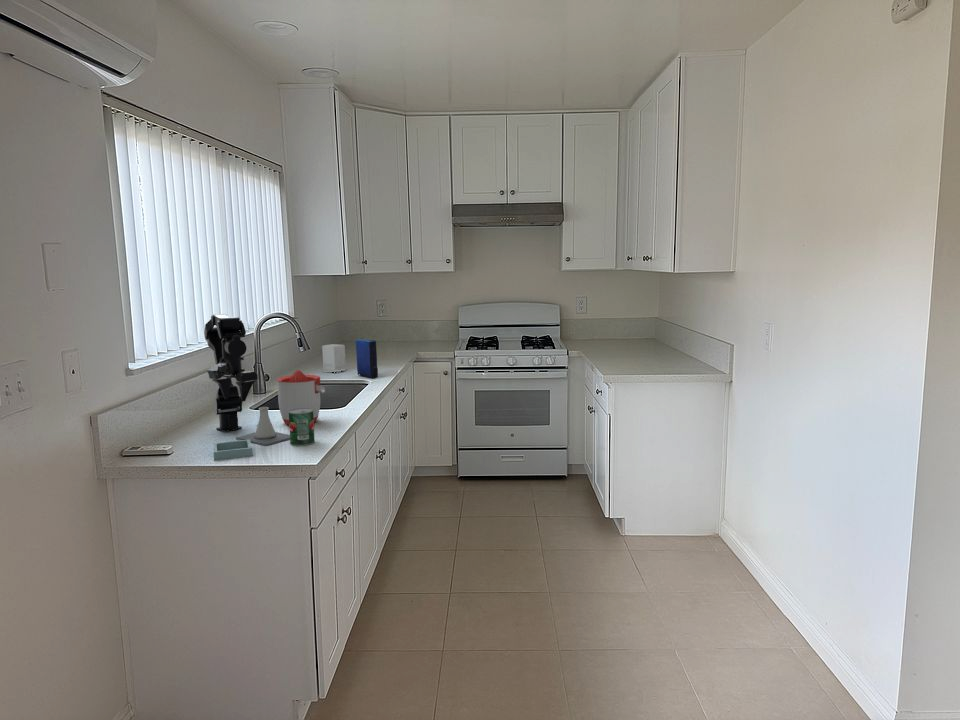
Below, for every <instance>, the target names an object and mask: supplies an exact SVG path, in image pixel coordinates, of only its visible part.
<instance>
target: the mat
mask: <svg viewBox="0 0 960 720" xmlns="http://www.w3.org/2000/svg"><path fill="white" fill-rule="evenodd" d="M275 432H276V436H275V437H271V438H265V439H257V438H255V437H254V436H255V432H252V433H248V434H245V435H244V434H243V435H241V436H236V437H235V440H237V441H239V440H249V439H250V442H251V444H256V445H261V446H264V447H267V446H272V445H275V444H278V443H282V442H286V441H290V434H287V433H283V432H278V431H275Z"/></svg>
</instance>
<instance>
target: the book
mask: <svg viewBox="0 0 960 720" xmlns="http://www.w3.org/2000/svg"><path fill="white" fill-rule="evenodd" d="M355 351H356V367H357V370H356V371H357V375H358V376H360V377H364V378H370V379H375V378H378V377H379V371H378V370H379V369H378V354H377V351H378V350H377V341H376V340H374V339H373V340H372V339H364V338H360V339H355ZM359 374H360V375H359ZM364 375H365V376H364Z"/></svg>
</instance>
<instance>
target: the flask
mask: <svg viewBox="0 0 960 720" xmlns="http://www.w3.org/2000/svg"><path fill="white" fill-rule="evenodd" d="M269 410H270V408H269V407H267V406H262V407H261V406H260V407H259V408H258V411H259V418H258V419H259V420H258V422H257V425H256V426H257V427H256V430H255V432H254V433H255V436H254V437H255V438H257V439H265V438H271V437H275V436H276V432H277V431H275V429H274V427H273V424H272V422H271V419H270V415H269Z"/></svg>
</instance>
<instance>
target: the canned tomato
mask: <svg viewBox="0 0 960 720" xmlns="http://www.w3.org/2000/svg"><path fill="white" fill-rule="evenodd" d="M288 427H289V435H290V440H289V444H290V445H291V446H293V447H306V446H310V445H313V444H315V442H316V441H315V422H314V417H313V409H311V408H297V409H292V410H289V425H288Z"/></svg>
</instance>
